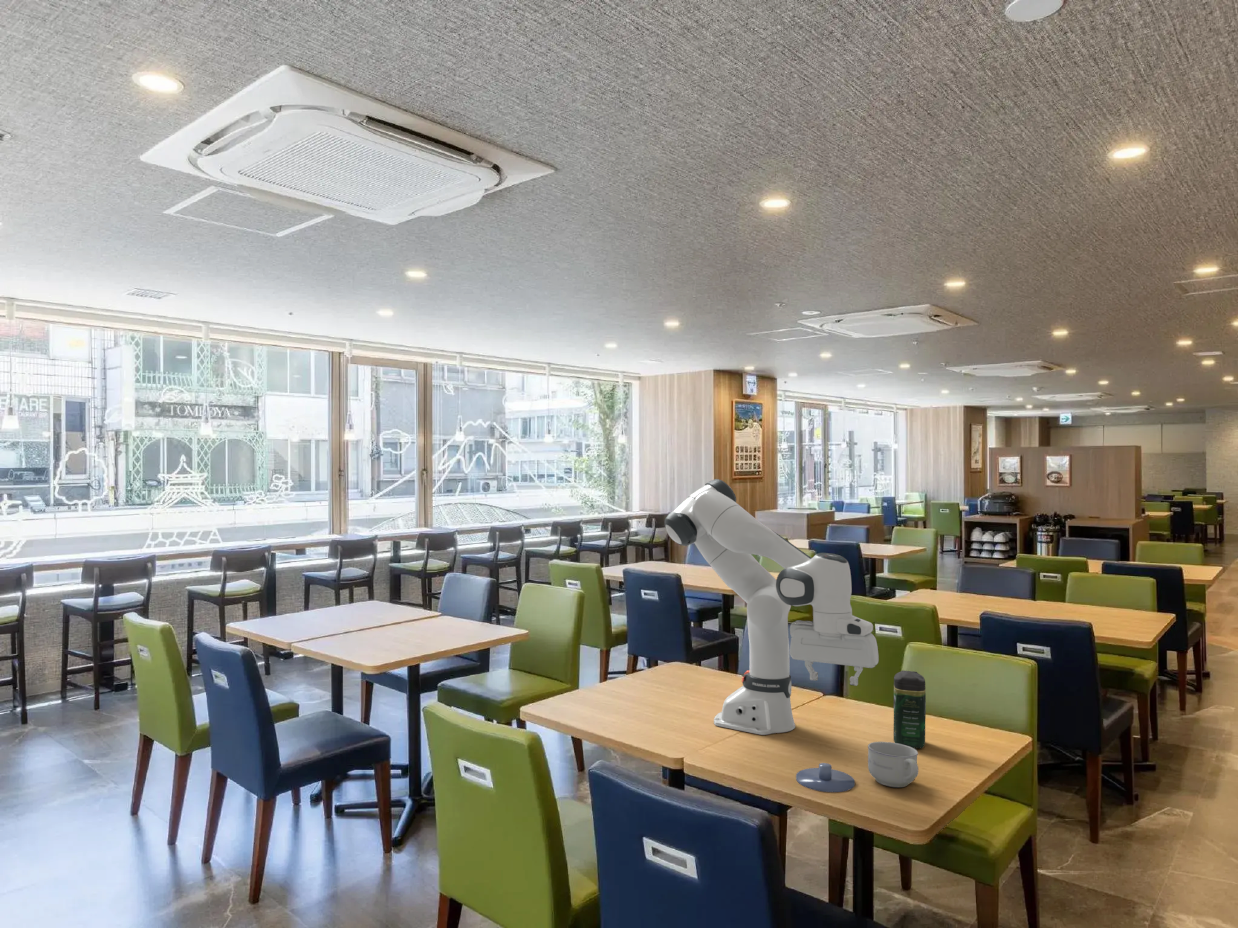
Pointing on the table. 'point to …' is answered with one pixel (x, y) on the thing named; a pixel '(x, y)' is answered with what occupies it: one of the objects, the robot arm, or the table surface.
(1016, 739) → the table surface
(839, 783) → the lid
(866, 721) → the table surface
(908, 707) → the coffee jar
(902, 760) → the teacup
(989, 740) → the table surface
